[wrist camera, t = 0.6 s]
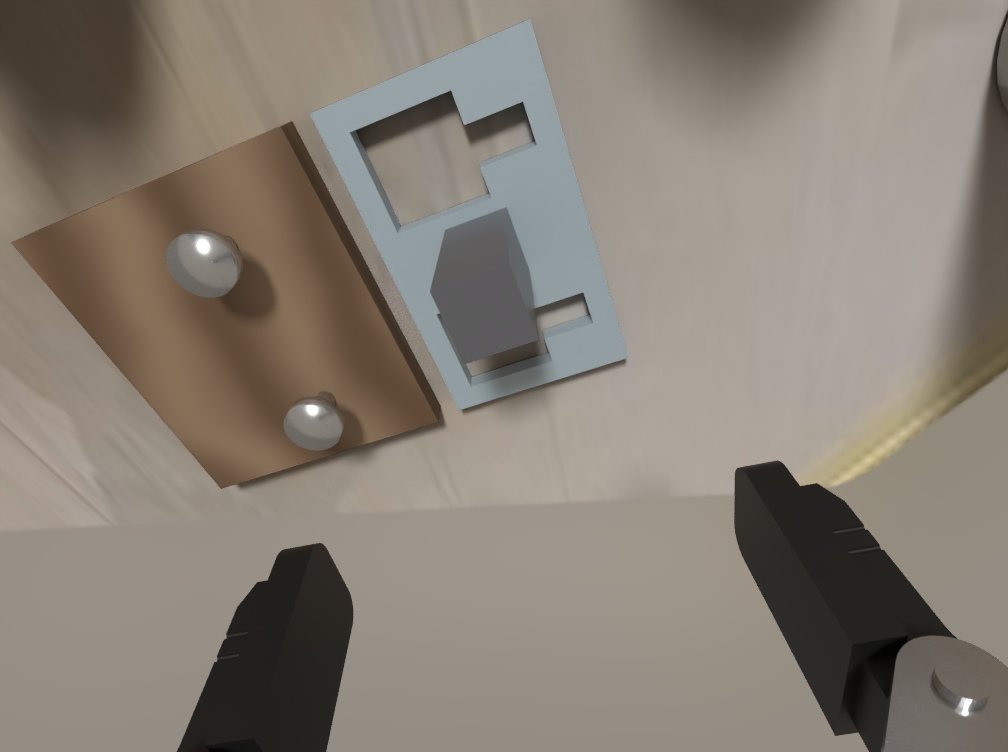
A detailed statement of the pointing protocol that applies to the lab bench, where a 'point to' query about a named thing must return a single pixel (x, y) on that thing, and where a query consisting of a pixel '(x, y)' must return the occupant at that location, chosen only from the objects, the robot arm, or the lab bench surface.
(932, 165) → the lab bench surface
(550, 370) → the keyhole panel
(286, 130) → the walnut board
